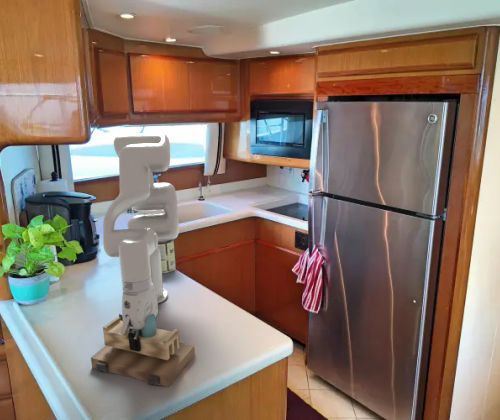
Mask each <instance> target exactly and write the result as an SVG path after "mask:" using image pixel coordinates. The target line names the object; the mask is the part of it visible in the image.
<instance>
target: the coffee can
mask: <svg viewBox="0 0 500 420" xmlns="http://www.w3.org/2000/svg"><path fill="white" fill-rule="evenodd" d="M157 247H158V248H159V250H160V256H161V269H162V274H168V273H170V272H173V271H174V270H175V269H176V258H175V255H176V254H175V243H174V239H171V240H160V241H158V246H157Z"/></svg>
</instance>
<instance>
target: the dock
mask: <svg viewBox="0 0 500 420" xmlns="http://www.w3.org/2000/svg"><path fill="white" fill-rule="evenodd" d="M174 352H175V353H174V354H173V355H171V354H169V355H170V358H169V359H168V360H165V359H160V358H156V357H152V356H148V355H144V354H140V353H136V352H132V351H127V350H123V349H119V348H115V347H111V346H107V345H104V347H102V348H101V349H100V350H98V351H97V352H96V353H95V354H94V355H92V356H91V357H90V361H91V367H92V368H94V369H96V371H101V372H104V373H107V372H109V373H114V374H117V375H121V376H124V377H125V376H126V377H128V378H132V379H138V380H141V381H145V382H147V384H150V385H154V386H159V385H160V386H164V387H168V388H169V387H170V386H171V385H172V384H173V382H175V380H176V379H177V378H178V376H180V374H181V373H182V372H183V370H184V369H185V368H186V366H187V365H188V364H189V363H190V361H191V360H192V359H193V358H194V357H195V355H196V353H195V345H192V344H187V343H181V342H179V348H178V349H174Z"/></svg>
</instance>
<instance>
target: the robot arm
mask: <svg viewBox="0 0 500 420" xmlns="http://www.w3.org/2000/svg"><path fill="white" fill-rule="evenodd" d="M113 148H114V151H115V154H116V155H117V157H118V163H119V164H118V167H119V169H118V170H119V171H118V172H119V173H118V174H119V176H118V177H119V179H118V180H119V193H118V196H117V197H116V198H115V199H114V200H113V201H112V202H111V204H110V205H109V207H108V208H107V209H106V212H105V214H104V217H103V221H102V222H103V224H102V226H103V227H102V231H103V232H102V246H103V251H104V253H105V255H106V256H108V257H110V258H119V266H120V267H119V268H120V277H121V286H122V294H121V295H122V298H121V312H122V314H121V315H122V317H123V327H122V330H121V334H122V335H124V336H126V337H127V338H129V347H130V350H133V351H138V352H139V351H141V346H140V338H139V337H138V333H139V330H140V329H142V328H143V327H144V326H145V321H146V320H147V319H148V318H149V317H150V316H151V315H153V314H154V315H155V317H156V316H157V315H158V313H159V304H161V303H162V302H165V301H166V300H167V299H168V297H169V292H168V291H167V290H166V289H165V288H164V286H163V285H164V284H163V283H164V282H163V273H162V269H161V256H160V250H159V248H158V247H157V246H158V241H160V240H171V239H173V240H175V239H176V238H177V237H179V232H180V225H179V210H178V198H177V192H176V188H175V186H174V185H173V184H172V183H170V182H155V181H154V174H153V173H155V172H160V173H161V172H166V171H168V170H169V168H170V164H171V145H170V140H169V137H168V136H167V134H165V133H127V134H122V135H118V136H117V137H115V138H114V140H113ZM129 209H132V210H133V211H135V212H151V211H152V212H155V211H163V213H144V214H137V215H134V216H132V217H130V218H129V220H128V221H127V226H126V228H124V229H115V226H116V224H115V223H116V221H117V220H118V218H119V217H120V216H121V215H122V214H123V213H124V212H126V211H127V210H129ZM132 329H135V332H134V333H132Z"/></svg>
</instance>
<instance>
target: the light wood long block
mask: <svg viewBox="0 0 500 420" xmlns="http://www.w3.org/2000/svg"><path fill="white" fill-rule="evenodd" d="M122 327H123V321H120V317H119V316H116V317H115V318H113V319H112V320H111V321H109V322H108V323H107V324H105V325H104V326H102V331H103V338H104V346H106V345H107V346H111V347H115V348H119V349H123V350H127V351H132V352H136V353H140V354H144V355H148V356H152V357H156V358H160V359H165V360H168V359H169V358H170V355H169V354H171V355H173V354H174V353H175V352H174V349H178V348H179V343H180V340H179V339H180V338H179V337H180V336H179V329H176V328H174V329H173V331H172V330H171V331H170V330H166V329H161V328H157V327H156V335H154V336H153V337H149V338H145V337H142V335H141V332H140V333H139V334H138V337H139V338H140V346H141V351H139V352H138V351H133V350H130V347H129V338H127V337H126V336H124V335H122V334H121V330H122Z"/></svg>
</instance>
